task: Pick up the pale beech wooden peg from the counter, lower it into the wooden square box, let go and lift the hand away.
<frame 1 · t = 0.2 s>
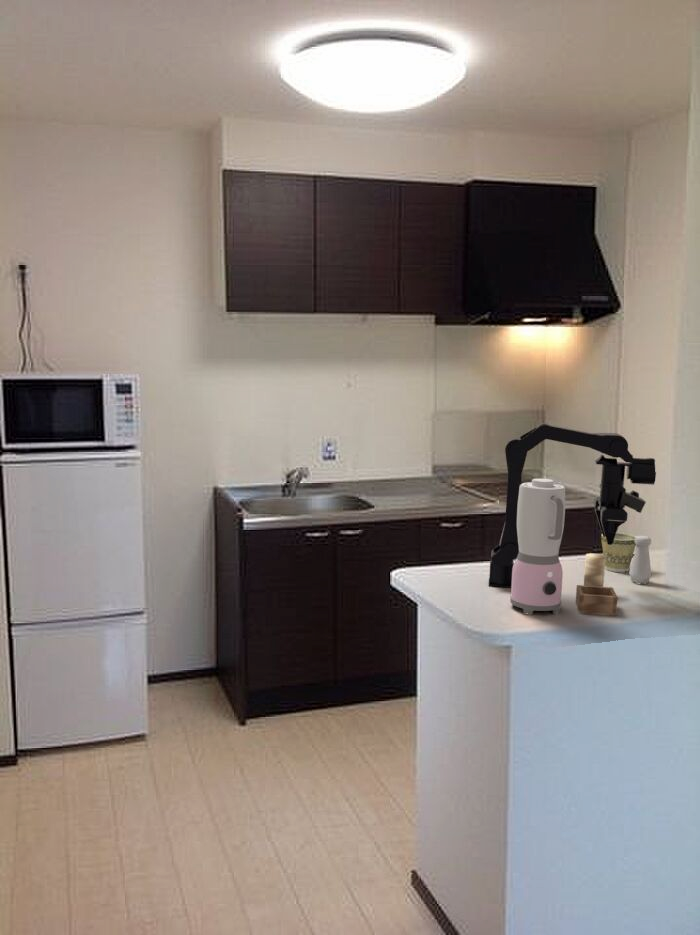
hand: (607, 540, 232), 14 cm above the countertop, tool pointing down, fingers open, 9 cm apart
wooden square box: (595, 609, 219), on the countertop
ceramic cup: (621, 570, 258), on the countertop
blender: (538, 610, 217), on the countertop
salt shaker: (639, 583, 245), on the countertop
beech peg: (592, 592, 233), on the countertop
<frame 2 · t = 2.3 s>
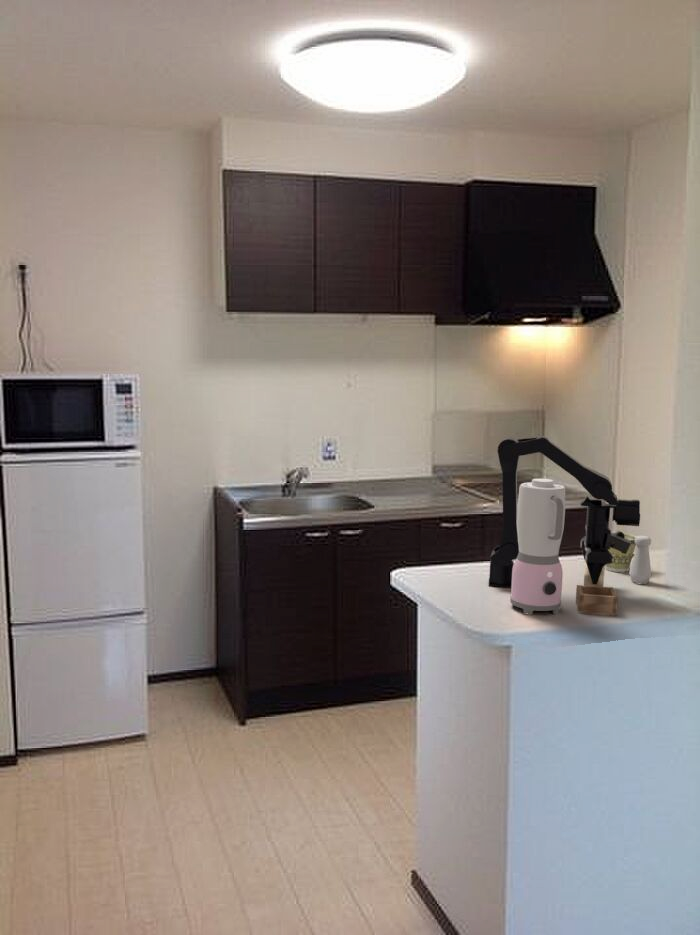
hand: (593, 581, 233), 3 cm above the countertop, tool pointing down, fingers closed on beech peg, 5 cm apart
beech peg: (592, 592, 233), on the countertop, touching gripper
everything else where it was.
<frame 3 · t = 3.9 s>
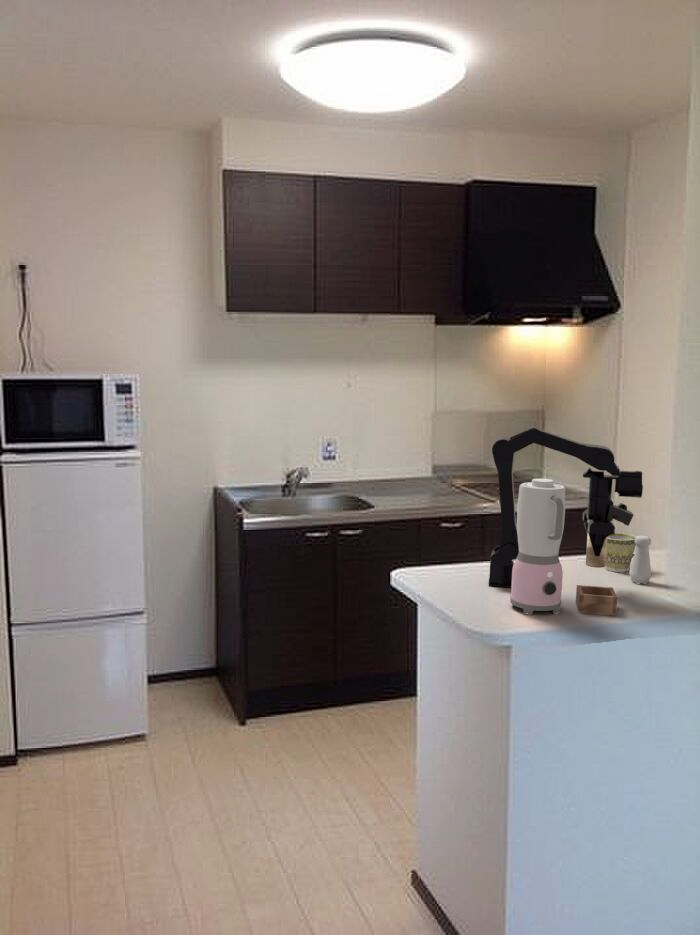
hand: (596, 553, 232), 11 cm above the countertop, tool pointing down, fingers closed on beech peg, 5 cm apart
beech peg: (595, 565, 232), point 7 cm above the countertop, touching gripper
everything else where it was.
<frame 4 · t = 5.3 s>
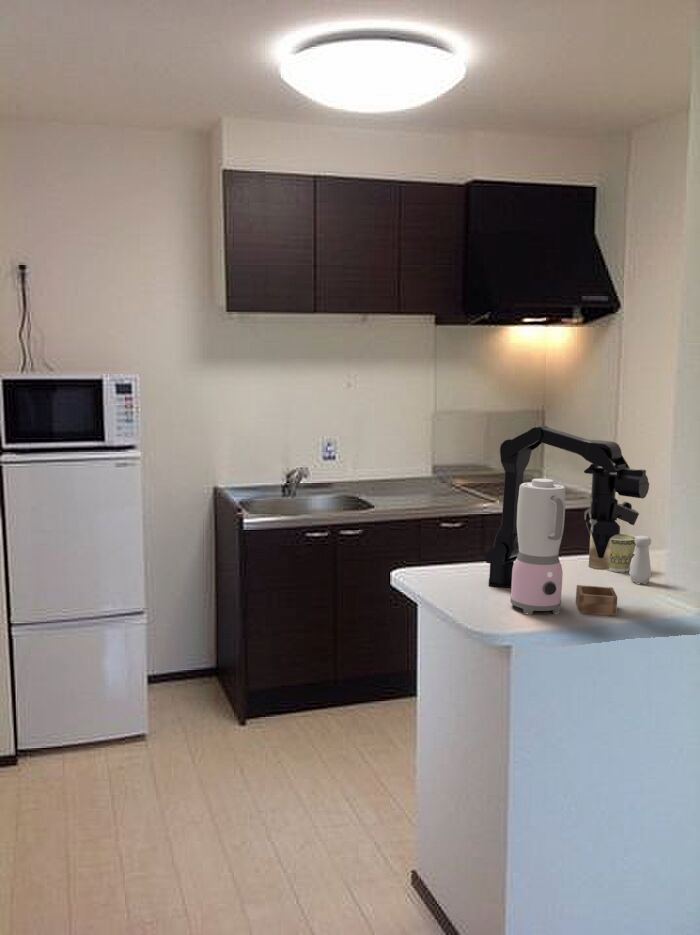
hand: (599, 555, 219), 13 cm above the countertop, tool pointing down, fingers closed on beech peg, 5 cm apart
beech peg: (598, 567, 219), point 10 cm above the countertop, touching gripper
everything else where it was.
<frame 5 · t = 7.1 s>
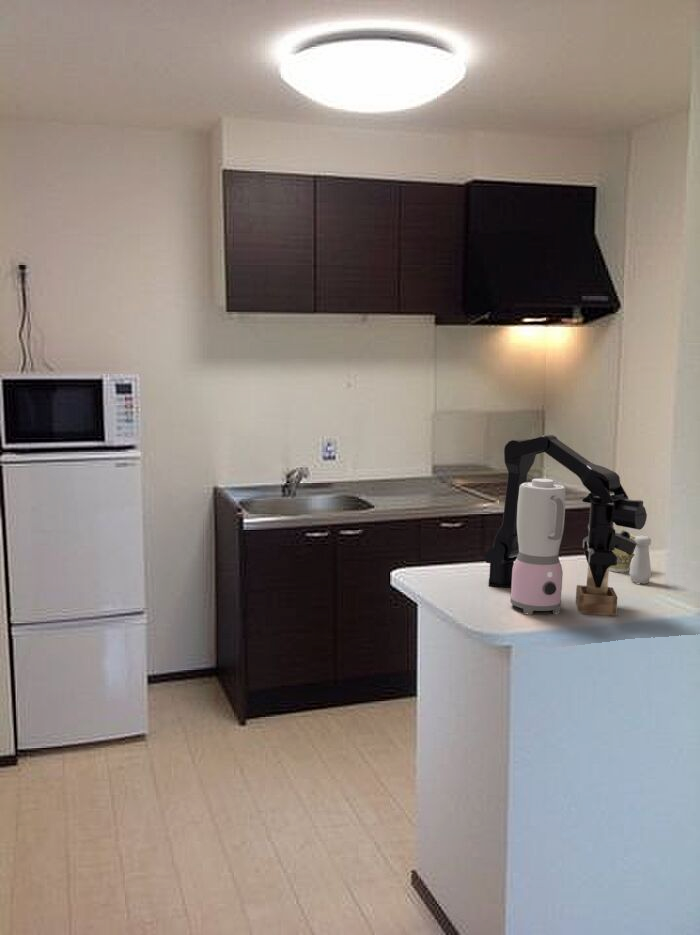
hand: (596, 584, 218), 6 cm above the countertop, tool pointing down, fingers closed on beech peg, 5 cm apart
beech peg: (596, 596, 218), point 3 cm above the countertop, touching gripper
everything else where it was.
when the fingers open (6 cm above the countertop, at t = 8.3 s): beech peg drops 2 cm, resting on wooden square box.
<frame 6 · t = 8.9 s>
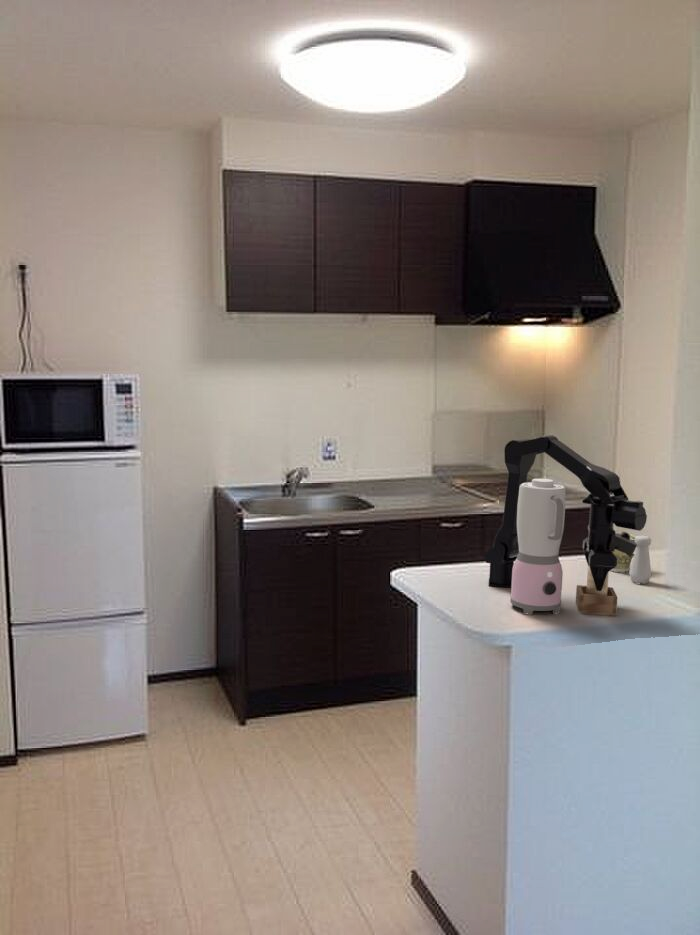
hand: (596, 585, 218), 6 cm above the countertop, tool pointing down, fingers open, 9 cm apart
beech peg: (595, 606, 219), point 1 cm above the countertop, touching wooden square box
everything else where it was.
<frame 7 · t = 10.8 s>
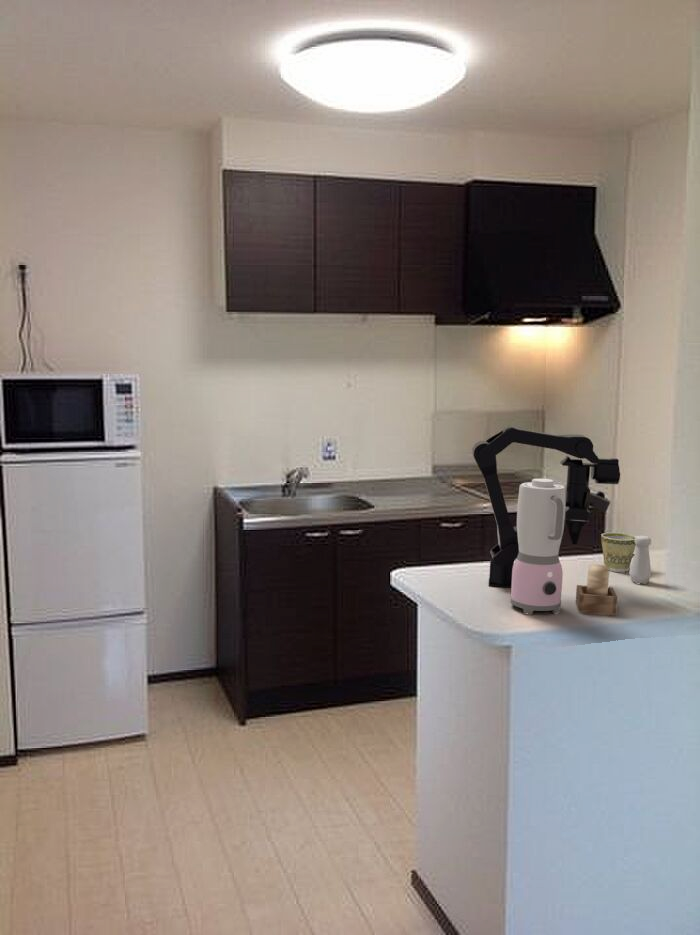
hand: (573, 540, 236), 13 cm above the countertop, tool pointing down, fingers open, 9 cm apart
nothing on the countertop moved.
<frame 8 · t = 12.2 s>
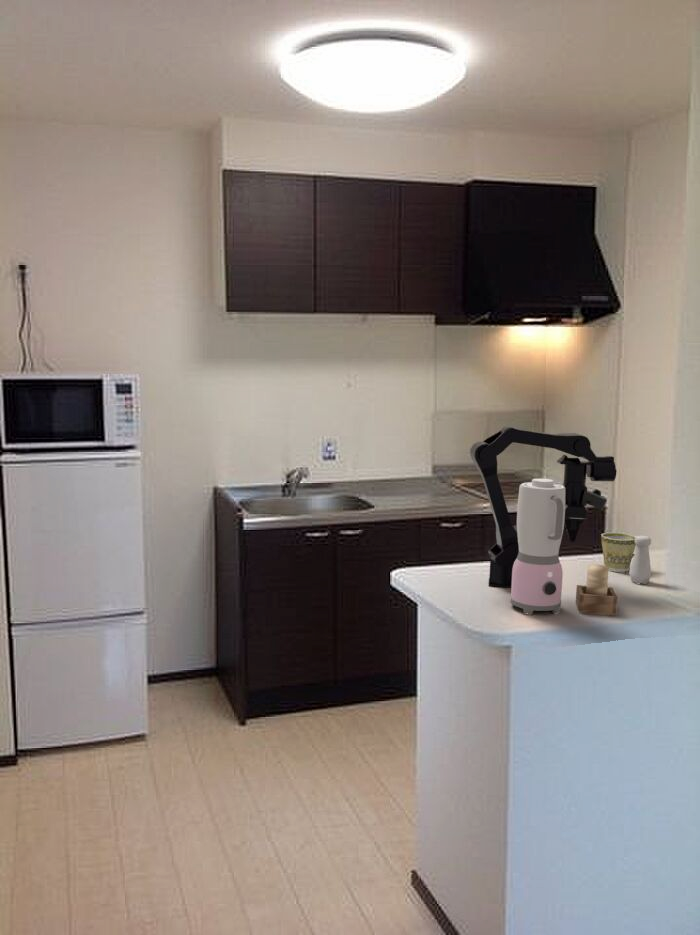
hand: (571, 538, 238), 13 cm above the countertop, tool pointing down, fingers open, 9 cm apart
nothing on the countertop moved.
at the end: beech peg 0.1 cm off-centre on the wooden square box, point 0.7 cm above the wooden square box's base; beech peg tilted 1°; the gripper is holding nothing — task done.
